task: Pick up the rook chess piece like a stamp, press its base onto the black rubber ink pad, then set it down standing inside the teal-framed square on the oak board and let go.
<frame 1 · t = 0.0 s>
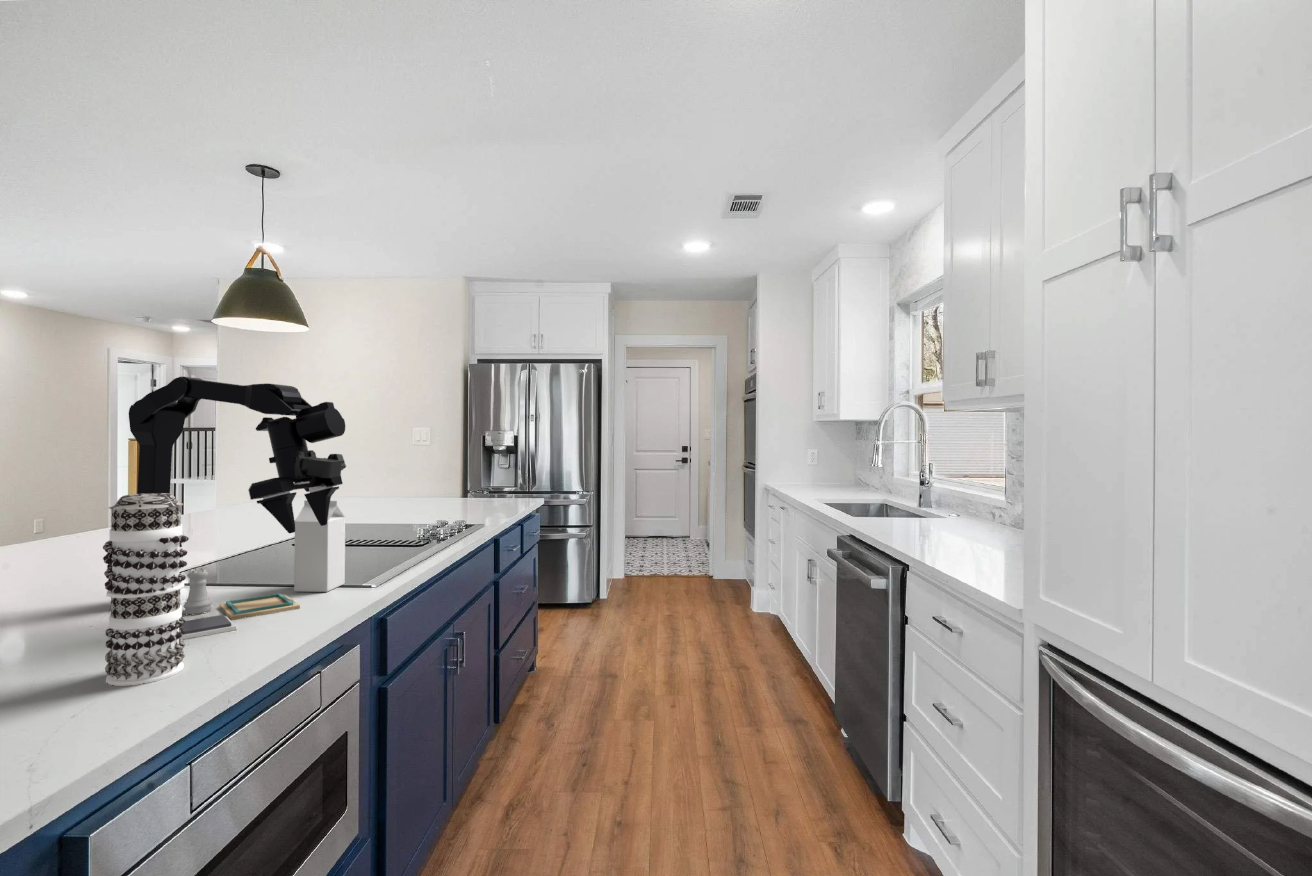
hand: (308, 528, 117), 15 cm above the counter, tool pointing down, fingers open, 9 cm apart
rook chess piece: (197, 613, 115), on the counter
ink pad: (203, 629, 105), on the counter
milk carton: (320, 589, 133), on the counter
decorative candle: (146, 674, 86), on the counter
print board: (259, 607, 118), on the counter
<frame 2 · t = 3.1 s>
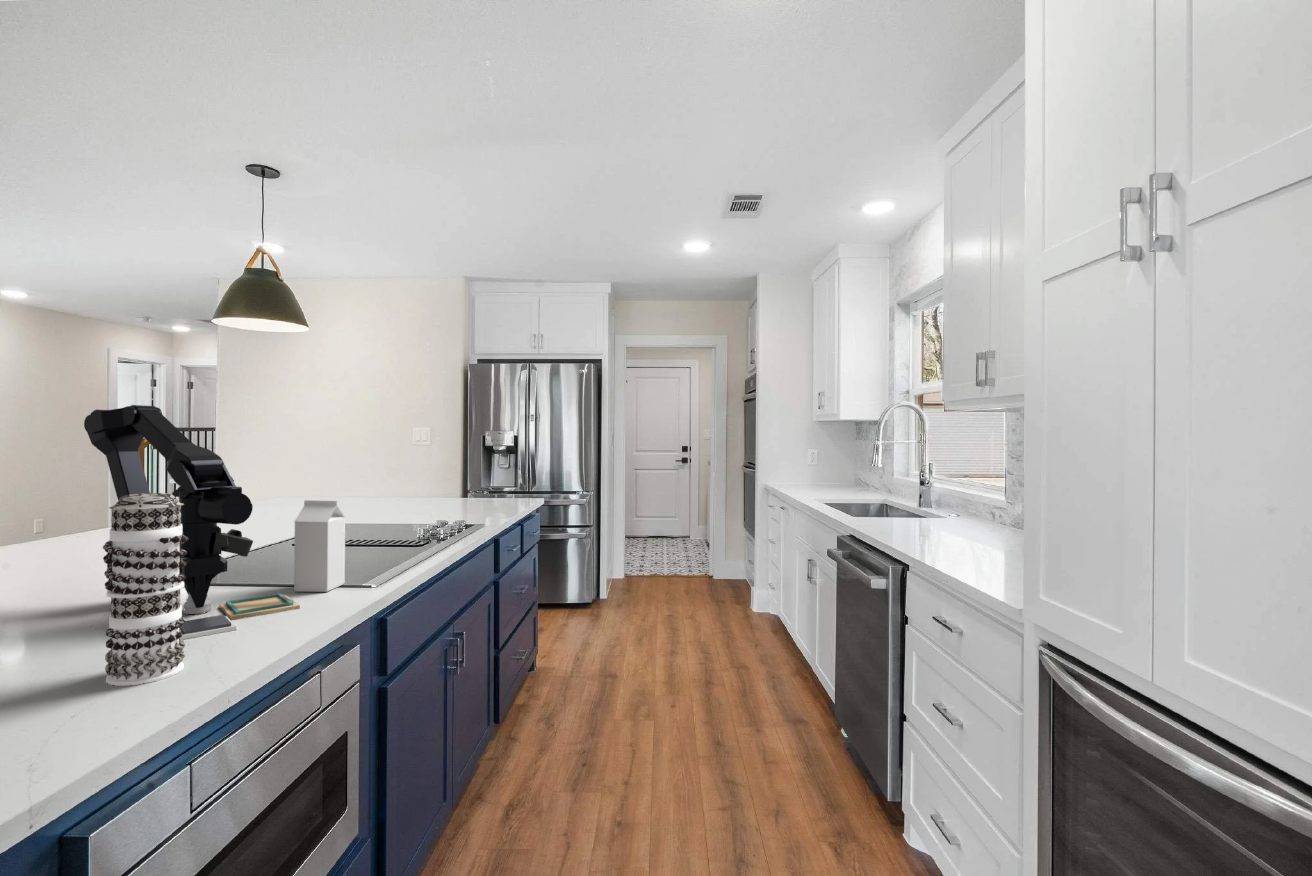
hand: (197, 604, 115), 1 cm above the counter, tool pointing down, fingers closed on rook chess piece, 4 cm apart
rook chess piece: (197, 612, 115), on the counter, touching gripper
everything else where it was.
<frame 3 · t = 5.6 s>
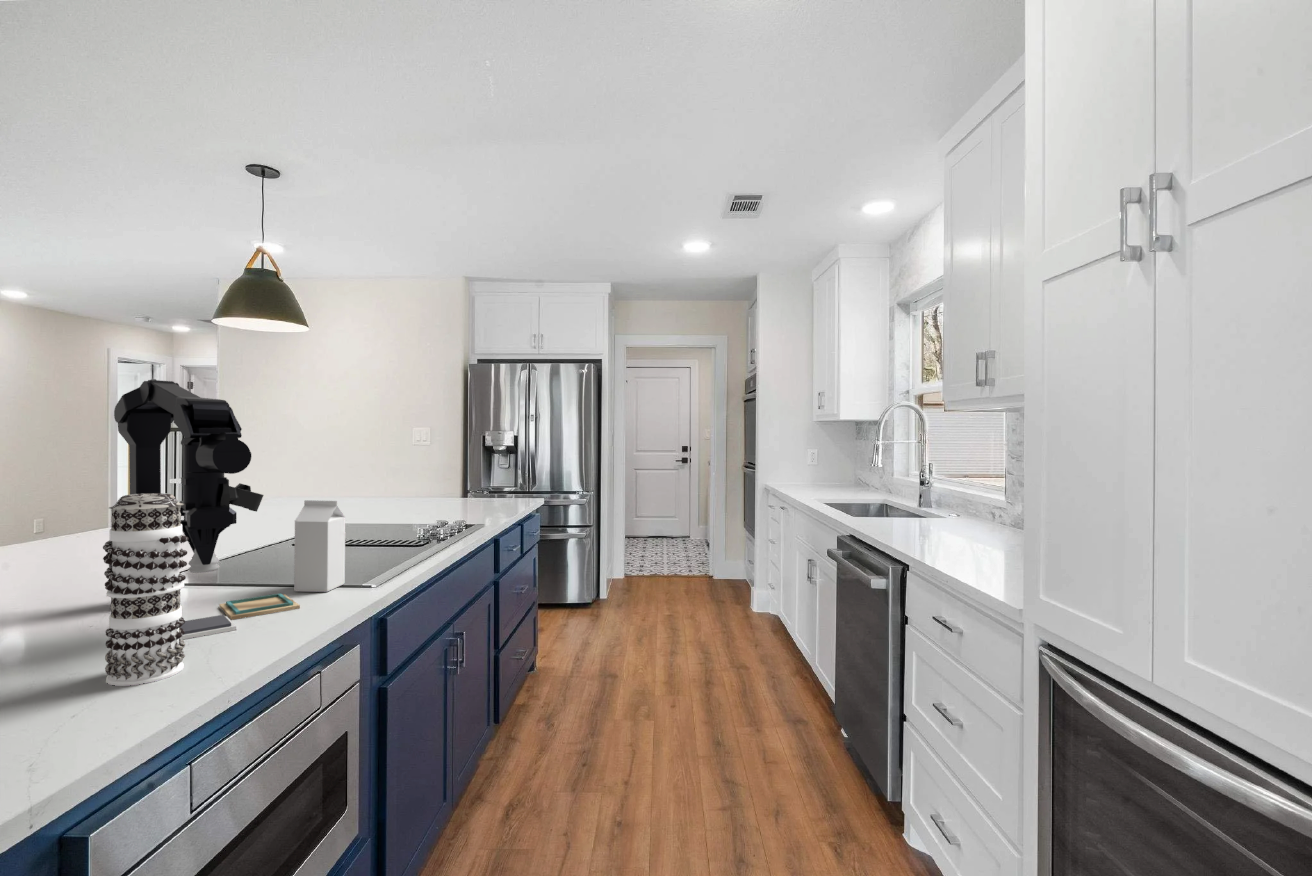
hand: (203, 562, 106), 11 cm above the counter, tool pointing down, fingers closed on rook chess piece, 4 cm apart
rook chess piece: (204, 571, 106), point 10 cm above the counter, touching gripper
everything else where it was.
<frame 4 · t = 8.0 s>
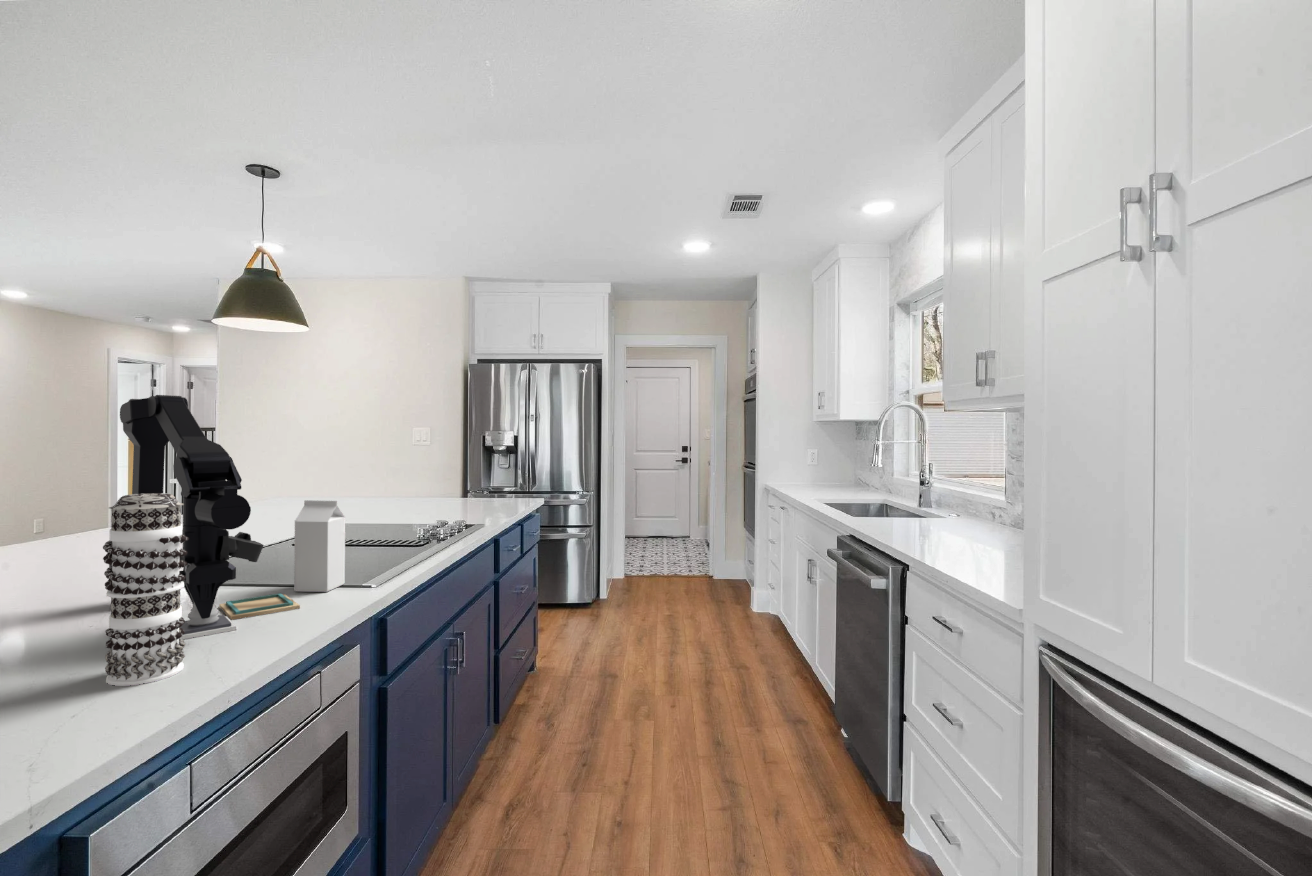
hand: (203, 614, 105), 2 cm above the counter, tool pointing down, fingers closed on rook chess piece, 4 cm apart
rook chess piece: (203, 623, 105), point 1 cm above the counter, touching gripper, ink pad
everything else where it was.
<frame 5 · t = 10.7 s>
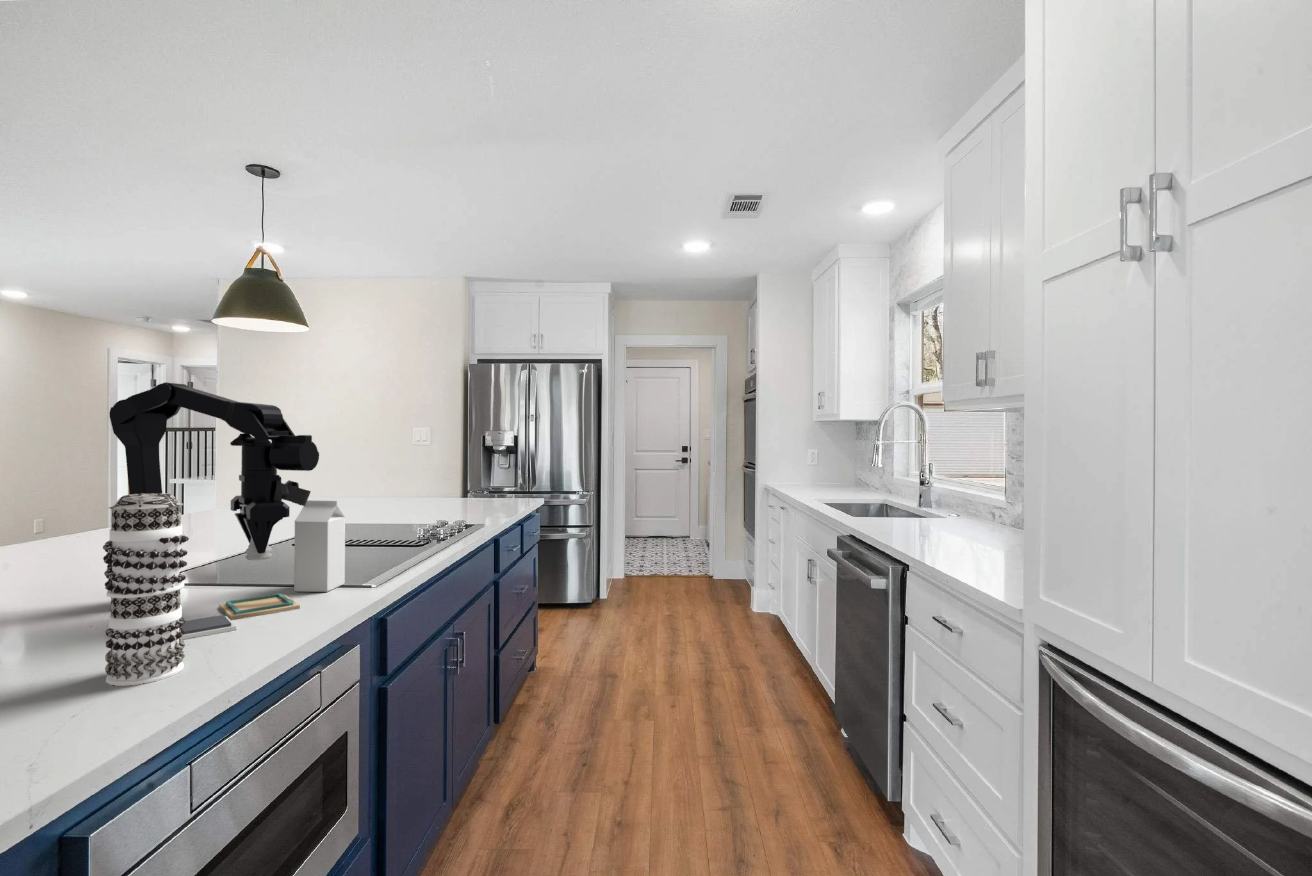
hand: (258, 551, 118), 11 cm above the counter, tool pointing down, fingers closed on rook chess piece, 4 cm apart
rook chess piece: (258, 559, 118), point 9 cm above the counter, touching gripper
everything else where it was.
when the fingers open (3 cm above the counter, at t = 13.0 s): rook chess piece stays where it is, resting on print board.
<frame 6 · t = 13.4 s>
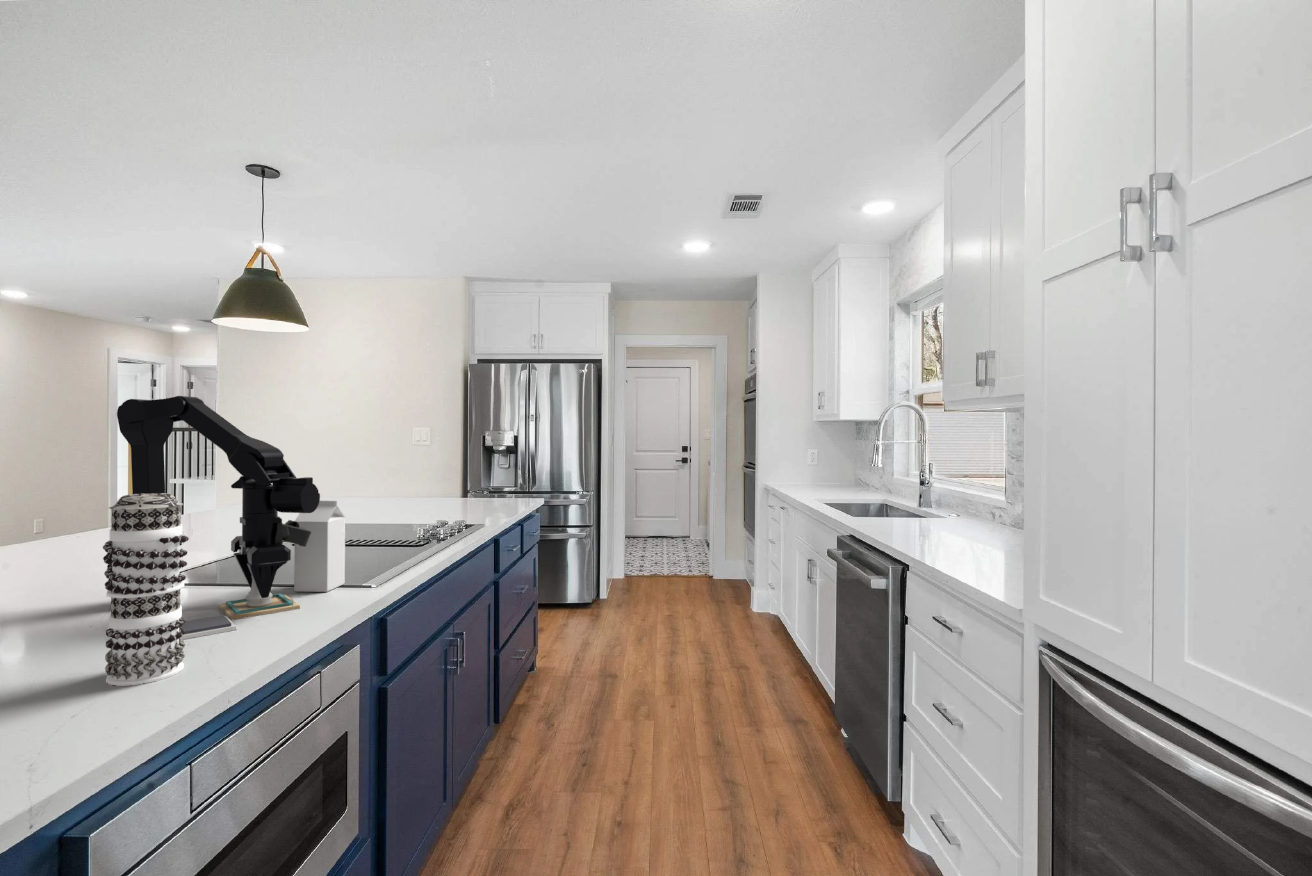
hand: (259, 593, 118), 3 cm above the counter, tool pointing down, fingers open, 8 cm apart
rook chess piece: (259, 605, 118), resting on print board
everything else where it was.
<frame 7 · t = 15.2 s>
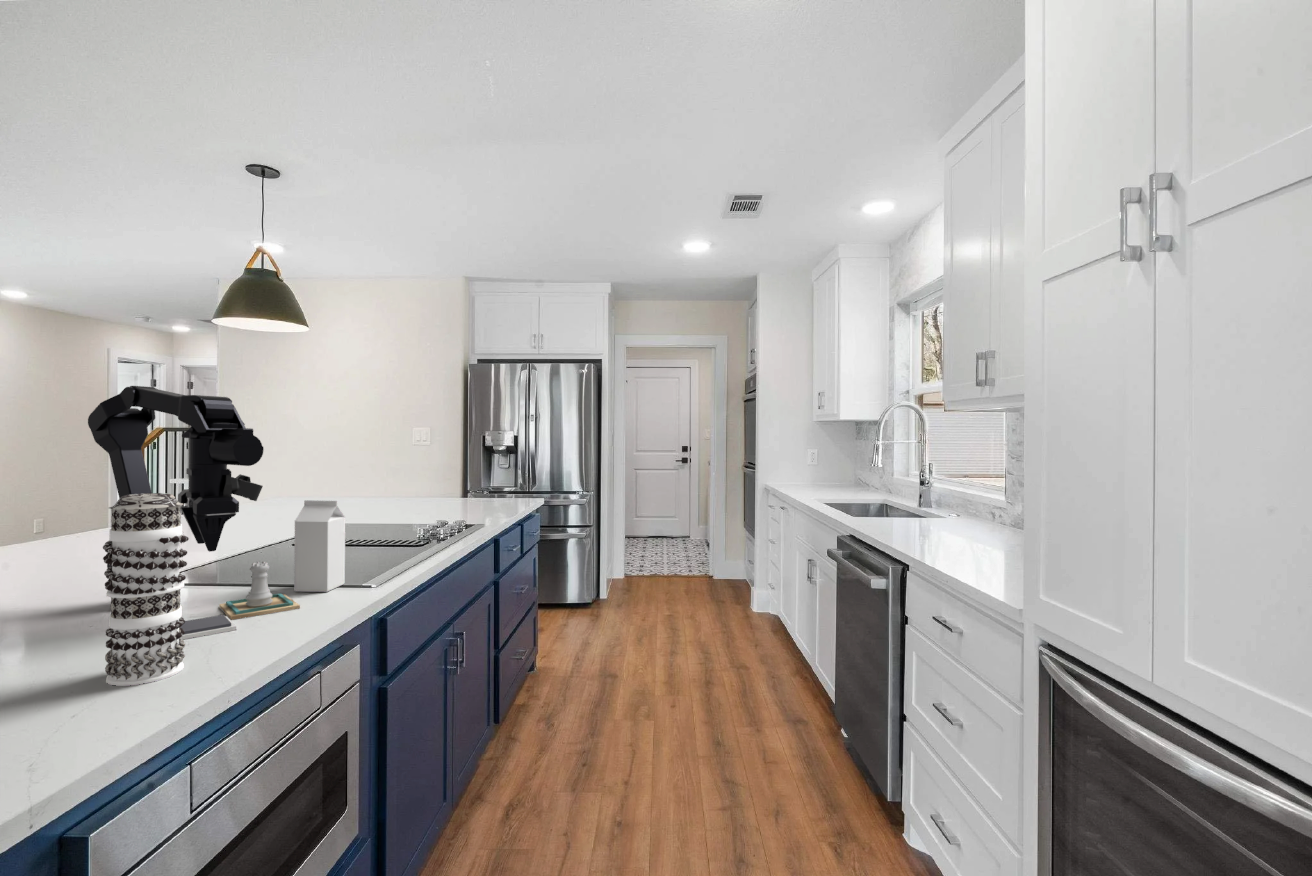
hand: (206, 547, 114), 12 cm above the counter, tool pointing down, fingers open, 9 cm apart
nothing on the counter moved.
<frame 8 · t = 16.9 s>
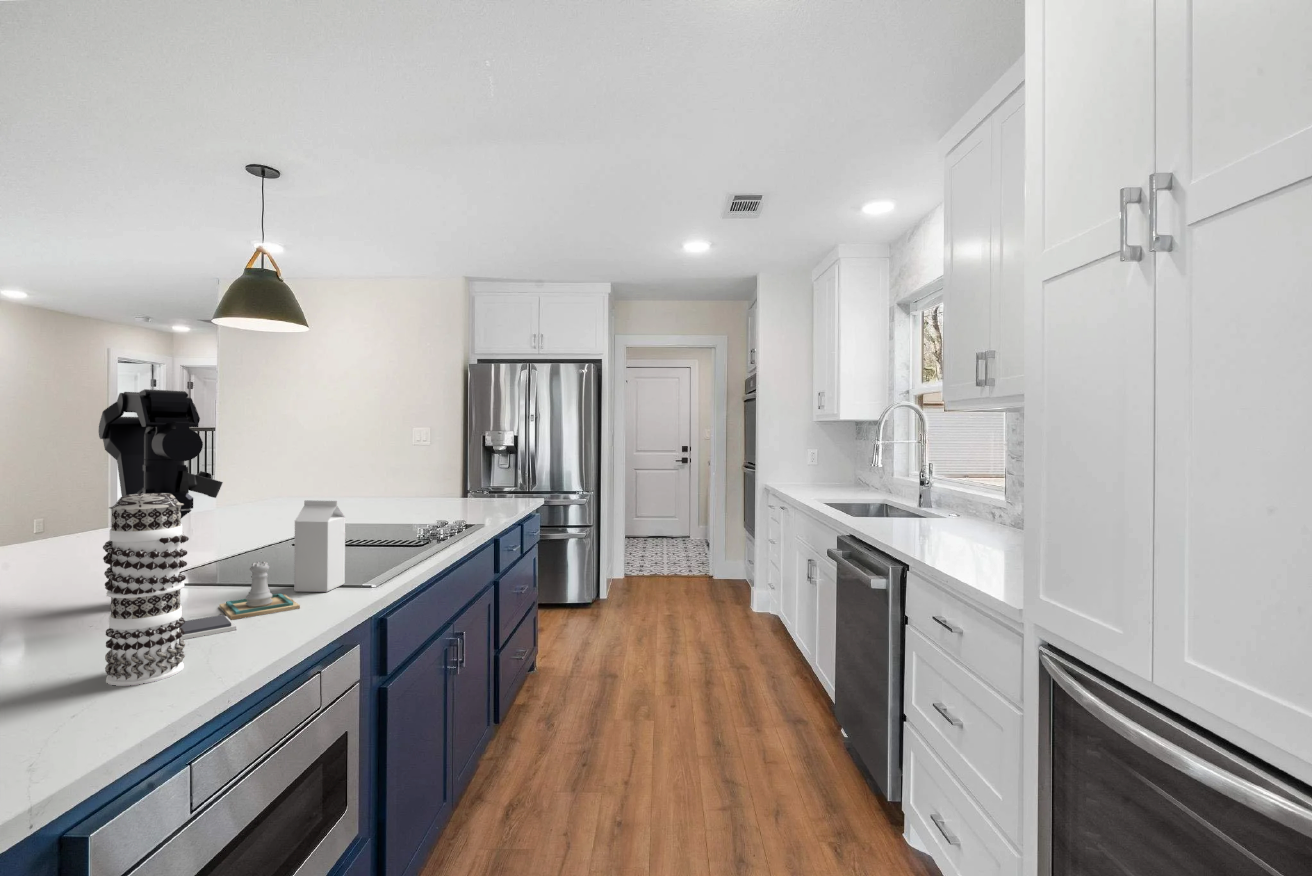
hand: (164, 545, 111), 13 cm above the counter, tool pointing down, fingers open, 9 cm apart
nothing on the counter moved.
at the end: rook chess piece 0.0 cm off-centre on the print board, point 0.4 cm above the print board's base; rook chess piece tilted 0°; the gripper is holding nothing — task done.
